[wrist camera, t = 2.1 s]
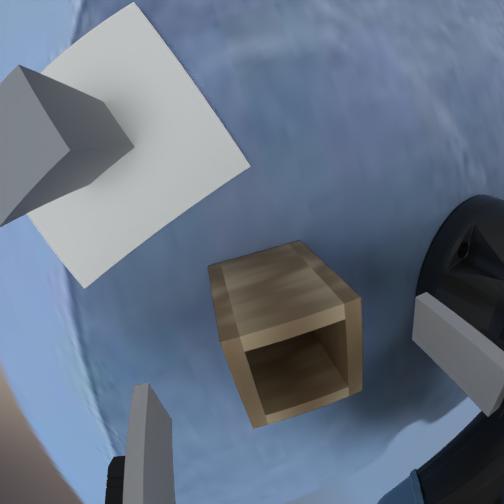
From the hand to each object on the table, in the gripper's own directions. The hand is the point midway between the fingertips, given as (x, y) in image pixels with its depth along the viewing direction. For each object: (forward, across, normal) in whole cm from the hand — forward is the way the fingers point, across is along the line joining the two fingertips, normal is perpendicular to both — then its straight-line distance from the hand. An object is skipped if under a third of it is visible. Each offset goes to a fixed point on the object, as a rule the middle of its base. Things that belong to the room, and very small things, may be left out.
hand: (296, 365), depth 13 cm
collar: (+8, 0, 0) cm, 8 cm away
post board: (+8, +7, -12) cm, 16 cm away
